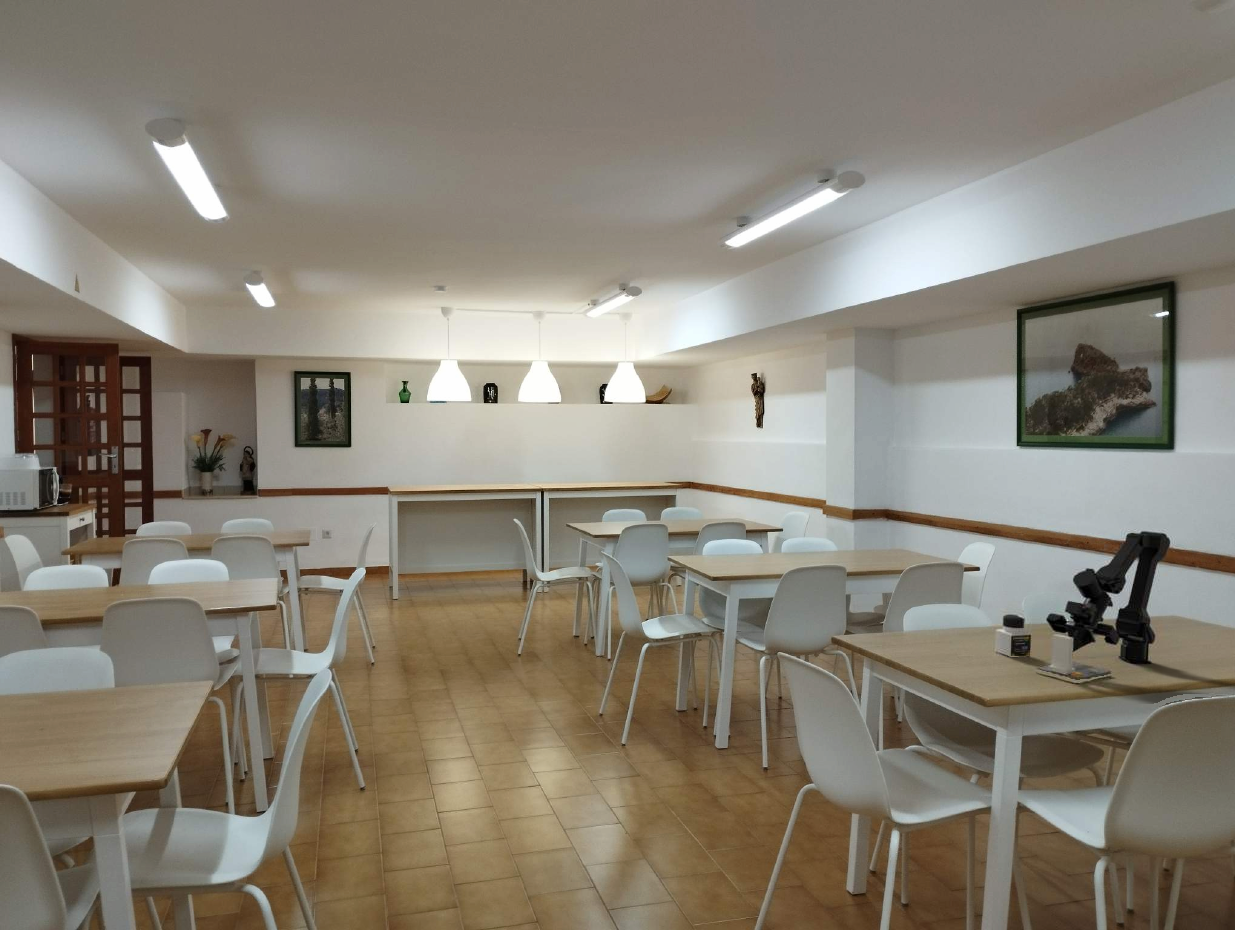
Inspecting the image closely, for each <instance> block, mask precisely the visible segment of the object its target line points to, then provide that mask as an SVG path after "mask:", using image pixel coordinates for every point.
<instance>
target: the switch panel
mask: <svg viewBox="0 0 1235 930" xmlns="http://www.w3.org/2000/svg"><path fill="white" fill-rule="evenodd" d="M1050 665H1051V664H1048V665H1045V666H1040V667H1035V669H1039V670H1042V671H1046V672H1051V673H1053V674H1058V675H1060V676H1065V677H1069V678H1071V679H1075V680H1080V679H1090V678H1092V677H1098V676H1104V675H1108V674H1111V675H1112V670H1108V669H1105V668H1101V667H1097V666H1092V665H1089V664H1084V663H1081V662H1076V661H1074V660H1072V668H1075V672H1072V673H1071V674H1067V675H1065V674H1061V673H1058V672H1054V671H1050V670H1048V668H1049V666H1050Z"/></svg>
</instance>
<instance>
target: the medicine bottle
mask: <svg viewBox="0 0 1235 930" xmlns="http://www.w3.org/2000/svg"><path fill="white" fill-rule="evenodd" d="M1025 624H1026V619H1025V617H1024V616H1022V615H1019V614H1014V613H1013V614H1005V615H1003V616H1002V628H999V629H996V630H995V646H994V647H995V650H994V651H998V652H1000V653H1003V654H1007V655H1008V656H1030V657H1031V647H1032V646H1031V645H1032V644H1031V643H1032V642H1031V641H1032V634H1031V633H1029V632H1027V631H1025Z"/></svg>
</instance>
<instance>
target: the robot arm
mask: <svg viewBox="0 0 1235 930" xmlns="http://www.w3.org/2000/svg"><path fill="white" fill-rule="evenodd" d="M1170 545H1171V539H1170V538H1169V537H1168V535H1167V534H1166V533H1163V532H1157V531H1156V532H1155V531H1147V530H1146V531H1145V530H1142V531H1141V532H1138V533H1137V532H1130V533H1127V534H1126V536H1125V540H1124V542H1123V544H1122V545H1121V546H1120V547H1119V549H1118V551H1117V552H1116V554H1115V555H1114V556H1113V557H1112V559H1111V561H1110V562H1109V563H1108V564H1107V565H1104V566H1101V567H1100V568H1099V569H1098V570H1097V571H1095V570H1094V568H1088V567H1087V568H1085V570H1082V571H1079V572H1078V573H1077V574H1075V575H1074V576H1073V578H1072V581H1073V584H1074V586H1075V587H1076V588H1077V590H1078V592H1079V593H1080V595H1081V597H1083V598H1085V599H1084V601H1083V603H1082V602H1077V601H1072V600H1067V603H1066V606H1065V608H1064V609H1065V610H1064V612H1065V613H1066V614H1067V613H1068V614H1069V618H1070V619H1071V620H1070V619H1066V617H1065V616H1064V615H1063V614H1057V613H1053V612H1052V613H1049V614H1048V615H1047V616H1046V619H1045V620H1046V622H1047V623H1048V625H1049V626H1050V627H1051V630H1052V631H1054V632H1056V633H1060V634H1066V633H1067V637H1072V638H1073V653H1074V652H1076V651H1078V650H1079V649H1081V648H1083V647H1085V646H1088V645H1089V644H1092V643H1094V644H1095V643H1096V638H1097V637H1098V636H1103V637H1104V639H1103V640H1104V641H1105V643H1106V644H1109V645H1114V646H1116V645H1118V644H1119V642H1120V639H1121V640H1122V641H1121V644H1120V650H1119V651H1120V654H1119V655H1118V659H1121V660H1123V661H1125V660H1126V661H1125V662H1127V661H1128V663H1129V662H1131V663H1130V664H1142V663H1141V662H1148V663H1147V664H1152V663H1151V662H1152V661H1151V660H1149V652H1150V650H1149V648H1150V645H1153V644H1154V643H1155V640H1156V634H1155V632H1154V630H1153V629H1152V627H1151V626H1150V625H1151V618H1150V615H1149V612H1148V610H1147V608H1148V604H1149V599H1150V595H1151V592H1152V586H1153V584H1154V583H1153V582H1154V580H1155V579H1154V578H1155V575H1156V570H1157V568H1158V567H1157V566H1158V563H1159V562H1160V561H1161V560H1162V559H1164V558H1165V557H1166V555H1167V552H1168V550H1169V548H1170V547H1171V546H1170ZM1137 558H1138V561H1137V565H1136V570H1135V573H1134V578H1133V582H1132V585H1131V586H1132V587H1131V590H1130V595H1129V599H1128V603H1127V605H1126V606H1124V608H1123V607H1120V608H1119V609H1118V613H1117V616H1116V619H1115V624H1114V625H1115V627H1114V626H1113V625H1112V624H1107V623H1103V622H1104V618H1103V617H1104V614H1105V612H1106V610H1107V608H1108V607H1109V608H1112V607H1114V602H1113V601H1112V597H1111V596H1110V595H1109V594H1113V595H1119V594H1120V593H1121V592H1122V591H1123V589H1124V588H1125V585H1126V583H1127V580H1126V574H1127V573H1128V572H1129V569H1130V568H1131V567H1132V565H1133V564H1134V563H1135V561H1136V559H1137ZM1149 662H1150V663H1149Z"/></svg>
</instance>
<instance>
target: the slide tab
mask: <svg viewBox="0 0 1235 930" xmlns="http://www.w3.org/2000/svg"><path fill="white" fill-rule="evenodd" d="M1051 642H1052V644H1051V663H1050V664H1049V665H1050V666H1049V668H1048V670H1050V671H1054V672H1058V673H1061V674H1065V675H1067V674H1071V673H1072V672H1075V668H1072V661H1073V653H1074V652H1073V638H1072V637H1068V635H1067V636H1066V635H1063V634H1058V633H1057V634H1052V639H1051Z"/></svg>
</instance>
